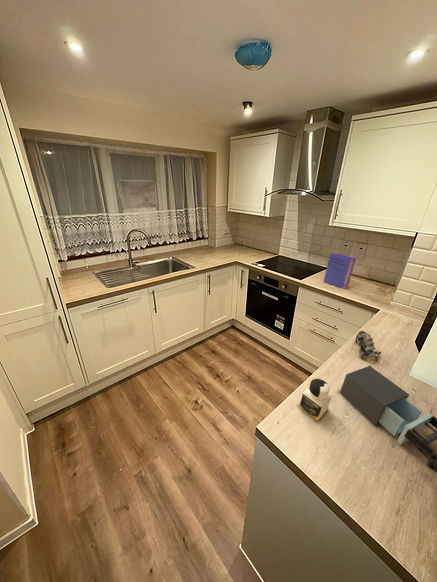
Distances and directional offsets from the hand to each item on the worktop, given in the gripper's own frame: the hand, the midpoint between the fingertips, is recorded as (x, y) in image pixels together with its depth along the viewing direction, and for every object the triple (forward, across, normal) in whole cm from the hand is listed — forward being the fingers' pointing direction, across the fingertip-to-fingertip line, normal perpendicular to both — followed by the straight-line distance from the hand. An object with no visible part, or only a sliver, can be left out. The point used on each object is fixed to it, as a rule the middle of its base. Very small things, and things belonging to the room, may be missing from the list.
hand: (419, 425), depth 72 cm
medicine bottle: (+20, -21, -7) cm, 30 cm away
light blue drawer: (+4, 0, -6) cm, 7 cm away
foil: (+36, +25, -7) cm, 45 cm away
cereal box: (+103, +78, -7) cm, 130 cm away
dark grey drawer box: (+15, 0, -7) cm, 16 cm away
